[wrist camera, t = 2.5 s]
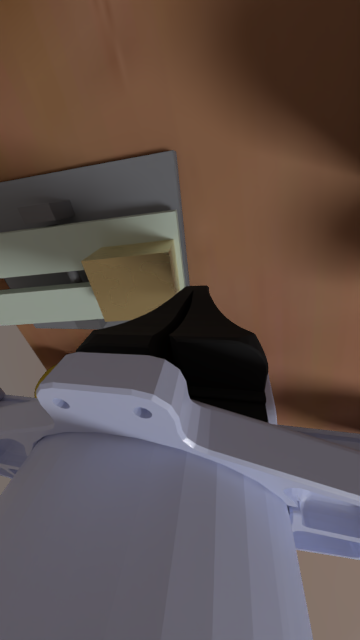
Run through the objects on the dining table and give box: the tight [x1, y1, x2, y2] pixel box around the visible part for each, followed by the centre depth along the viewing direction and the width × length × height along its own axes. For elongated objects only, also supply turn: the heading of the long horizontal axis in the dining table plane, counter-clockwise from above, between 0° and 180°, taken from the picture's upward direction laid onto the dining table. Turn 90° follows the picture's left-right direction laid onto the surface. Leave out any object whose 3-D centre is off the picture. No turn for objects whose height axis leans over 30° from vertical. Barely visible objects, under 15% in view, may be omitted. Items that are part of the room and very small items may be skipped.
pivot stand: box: [0, 150, 190, 329], centre depth 20 cm, size 22×16×4 cm
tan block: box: [81, 239, 180, 322], centre depth 16 cm, size 6×5×4 cm
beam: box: [0, 210, 186, 326], centre depth 19 cm, size 22×9×2 cm, turn 97°
